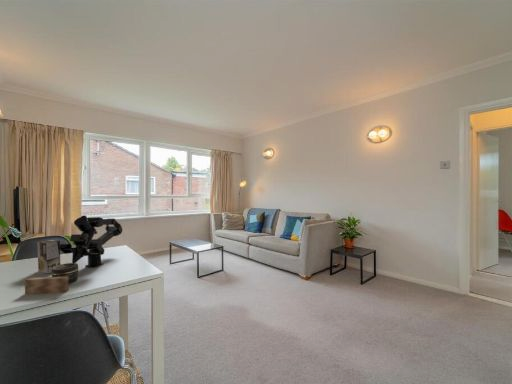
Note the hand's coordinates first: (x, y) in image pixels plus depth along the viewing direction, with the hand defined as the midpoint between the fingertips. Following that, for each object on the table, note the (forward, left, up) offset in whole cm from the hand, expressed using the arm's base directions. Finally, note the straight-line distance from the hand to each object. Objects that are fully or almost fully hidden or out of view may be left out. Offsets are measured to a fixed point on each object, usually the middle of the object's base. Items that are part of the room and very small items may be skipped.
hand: (73, 262), depth 119 cm
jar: (+2, -5, -7) cm, 9 cm away
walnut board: (+7, -15, -7) cm, 18 cm away
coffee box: (-23, +2, -7) cm, 24 cm away
